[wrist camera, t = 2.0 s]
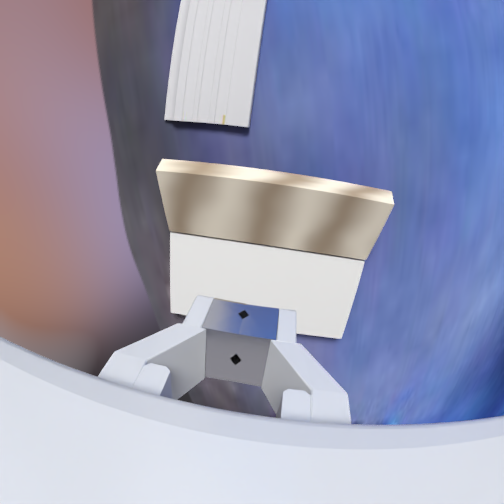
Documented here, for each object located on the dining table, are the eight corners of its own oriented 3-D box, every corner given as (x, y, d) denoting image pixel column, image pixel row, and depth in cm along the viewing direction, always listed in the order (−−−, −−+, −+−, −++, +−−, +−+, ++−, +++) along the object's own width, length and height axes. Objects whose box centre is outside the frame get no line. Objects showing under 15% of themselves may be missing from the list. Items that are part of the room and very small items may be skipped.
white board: (361, 254, 33) (364, 261, 31) (339, 330, 37) (341, 338, 36) (175, 227, 34) (170, 232, 33) (175, 305, 38) (170, 312, 37)
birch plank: (391, 191, 26) (394, 204, 25) (365, 247, 32) (365, 260, 31) (162, 158, 27) (155, 170, 26) (174, 219, 33) (169, 230, 32)
